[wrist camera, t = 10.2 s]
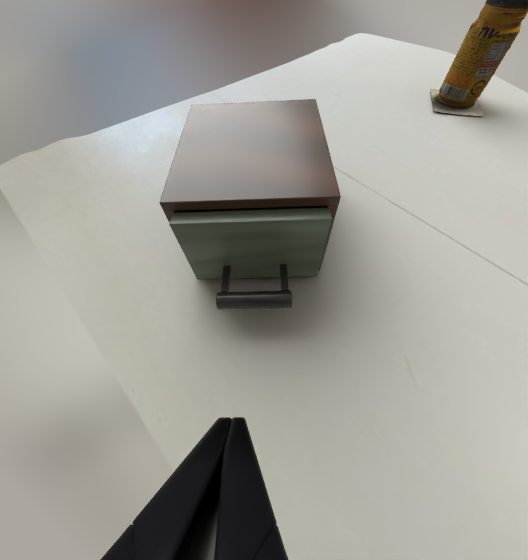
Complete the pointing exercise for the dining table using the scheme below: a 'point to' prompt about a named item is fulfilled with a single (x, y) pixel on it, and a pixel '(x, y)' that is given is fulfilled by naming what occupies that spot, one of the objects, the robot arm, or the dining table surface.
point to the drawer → (253, 248)
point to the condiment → (479, 57)
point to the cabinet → (252, 159)
